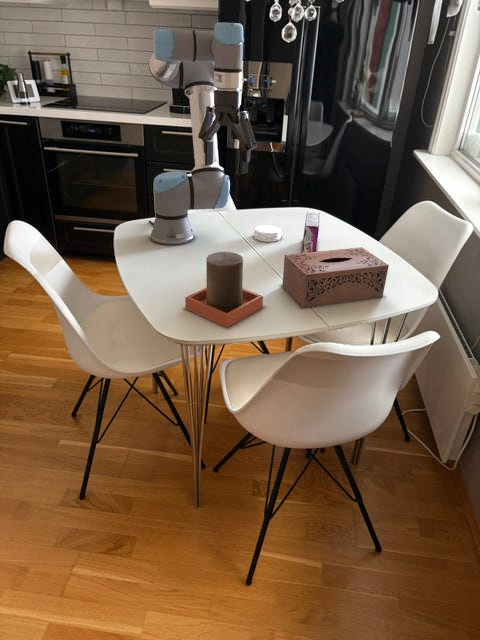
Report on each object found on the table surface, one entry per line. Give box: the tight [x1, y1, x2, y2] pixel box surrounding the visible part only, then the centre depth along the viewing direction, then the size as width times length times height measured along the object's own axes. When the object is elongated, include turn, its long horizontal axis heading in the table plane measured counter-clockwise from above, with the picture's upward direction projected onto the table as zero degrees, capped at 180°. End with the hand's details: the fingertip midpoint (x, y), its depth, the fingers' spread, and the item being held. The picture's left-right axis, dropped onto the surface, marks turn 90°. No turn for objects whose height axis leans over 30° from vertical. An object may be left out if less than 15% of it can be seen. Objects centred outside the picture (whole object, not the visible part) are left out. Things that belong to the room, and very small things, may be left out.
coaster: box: [253, 224, 282, 243], centre depth 181 cm, size 10×10×4 cm
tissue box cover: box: [281, 246, 390, 309], centre depth 141 cm, size 26×14×10 cm, turn 108°
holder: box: [184, 287, 264, 328], centre depth 132 cm, size 15×15×4 cm
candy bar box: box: [301, 211, 321, 253], centre depth 171 cm, size 11×5×16 cm
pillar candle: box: [205, 251, 244, 313], centre depth 128 cm, size 10×10×15 cm
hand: (225, 169), depth 142 cm, fingers open, 13 cm apart
